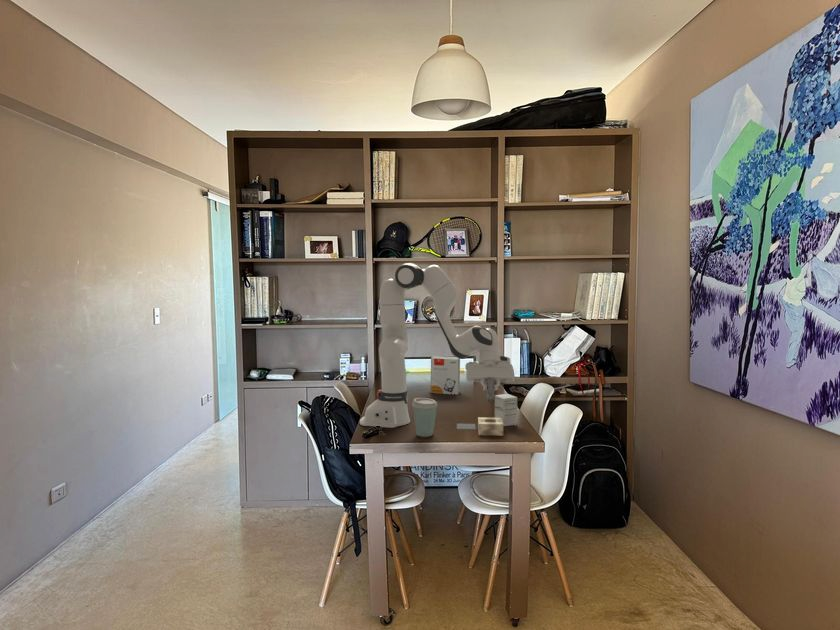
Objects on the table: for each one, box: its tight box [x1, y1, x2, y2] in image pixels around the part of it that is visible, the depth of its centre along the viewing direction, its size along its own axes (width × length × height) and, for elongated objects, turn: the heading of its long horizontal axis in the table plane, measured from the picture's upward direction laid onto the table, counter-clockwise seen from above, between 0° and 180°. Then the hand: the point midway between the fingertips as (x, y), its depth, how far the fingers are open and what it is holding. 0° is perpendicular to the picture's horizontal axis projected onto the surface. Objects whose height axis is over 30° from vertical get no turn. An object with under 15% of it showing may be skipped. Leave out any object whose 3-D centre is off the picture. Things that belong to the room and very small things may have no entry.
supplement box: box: [494, 393, 518, 427], centre depth 235 cm, size 7×7×13 cm
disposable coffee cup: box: [411, 397, 438, 438], centre depth 218 cm, size 11×11×15 cm
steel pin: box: [486, 377, 495, 404], centre depth 221 cm, size 3×3×10 cm
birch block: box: [477, 416, 504, 437], centre depth 222 cm, size 10×10×5 cm
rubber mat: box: [456, 423, 476, 430], centre depth 230 cm, size 8×8×1 cm
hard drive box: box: [430, 355, 461, 396], centre depth 296 cm, size 16×8×20 cm, turn 76°
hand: (490, 389), depth 221 cm, fingers closed on steel pin, 3 cm apart
